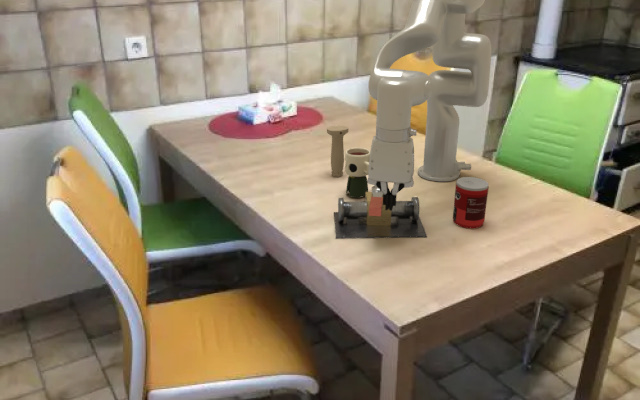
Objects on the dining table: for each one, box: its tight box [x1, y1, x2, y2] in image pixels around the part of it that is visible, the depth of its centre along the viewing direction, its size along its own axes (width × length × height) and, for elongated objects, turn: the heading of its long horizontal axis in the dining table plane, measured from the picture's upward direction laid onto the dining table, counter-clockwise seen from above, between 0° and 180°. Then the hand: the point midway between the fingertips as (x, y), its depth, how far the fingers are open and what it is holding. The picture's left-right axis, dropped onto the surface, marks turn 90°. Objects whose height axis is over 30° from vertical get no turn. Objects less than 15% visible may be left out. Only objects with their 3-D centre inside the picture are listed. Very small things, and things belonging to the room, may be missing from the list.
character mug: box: [344, 147, 371, 198], centre depth 164 cm, size 11×7×13 cm, turn 33°
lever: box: [369, 185, 383, 216], centre depth 142 cm, size 14×4×2 cm, turn 171°
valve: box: [333, 191, 428, 239], centre depth 148 cm, size 22×14×7 cm, turn 91°
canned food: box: [452, 176, 489, 229], centre depth 148 cm, size 8×8×11 cm
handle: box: [326, 125, 349, 178], centre depth 177 cm, size 5×6×15 cm
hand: (389, 207), depth 139 cm, fingers closed
